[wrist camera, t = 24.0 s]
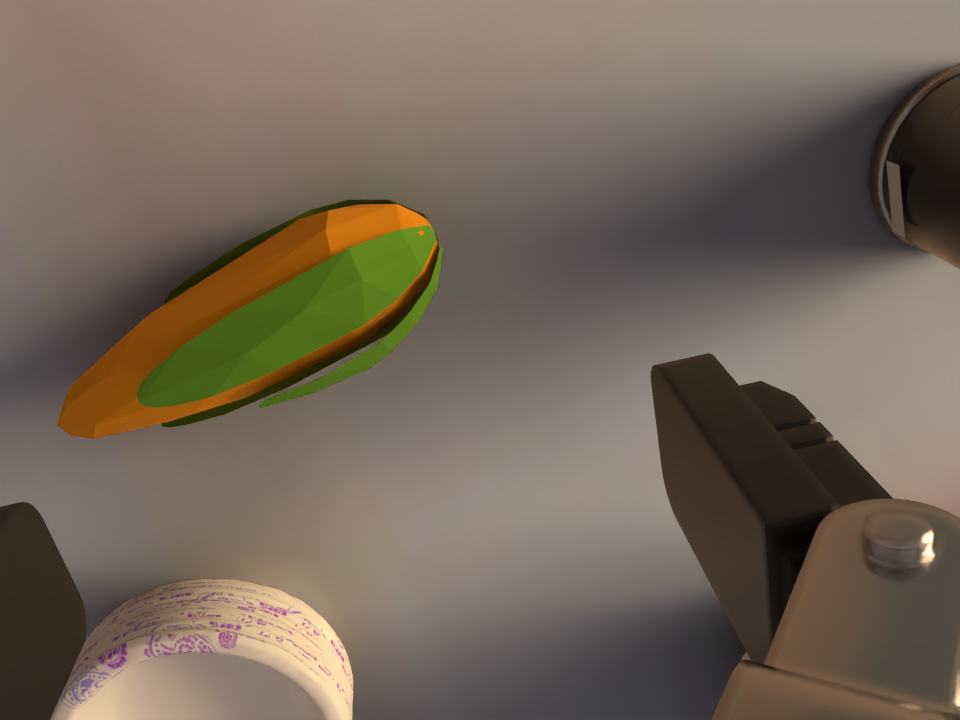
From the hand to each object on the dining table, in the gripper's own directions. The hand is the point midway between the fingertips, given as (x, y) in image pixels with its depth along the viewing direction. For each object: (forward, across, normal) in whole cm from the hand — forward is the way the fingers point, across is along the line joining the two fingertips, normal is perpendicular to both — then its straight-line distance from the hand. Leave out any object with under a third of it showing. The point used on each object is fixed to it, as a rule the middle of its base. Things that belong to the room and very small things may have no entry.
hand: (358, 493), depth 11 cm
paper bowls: (+32, +16, +28) cm, 46 cm away
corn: (+32, +8, +8) cm, 34 cm away
